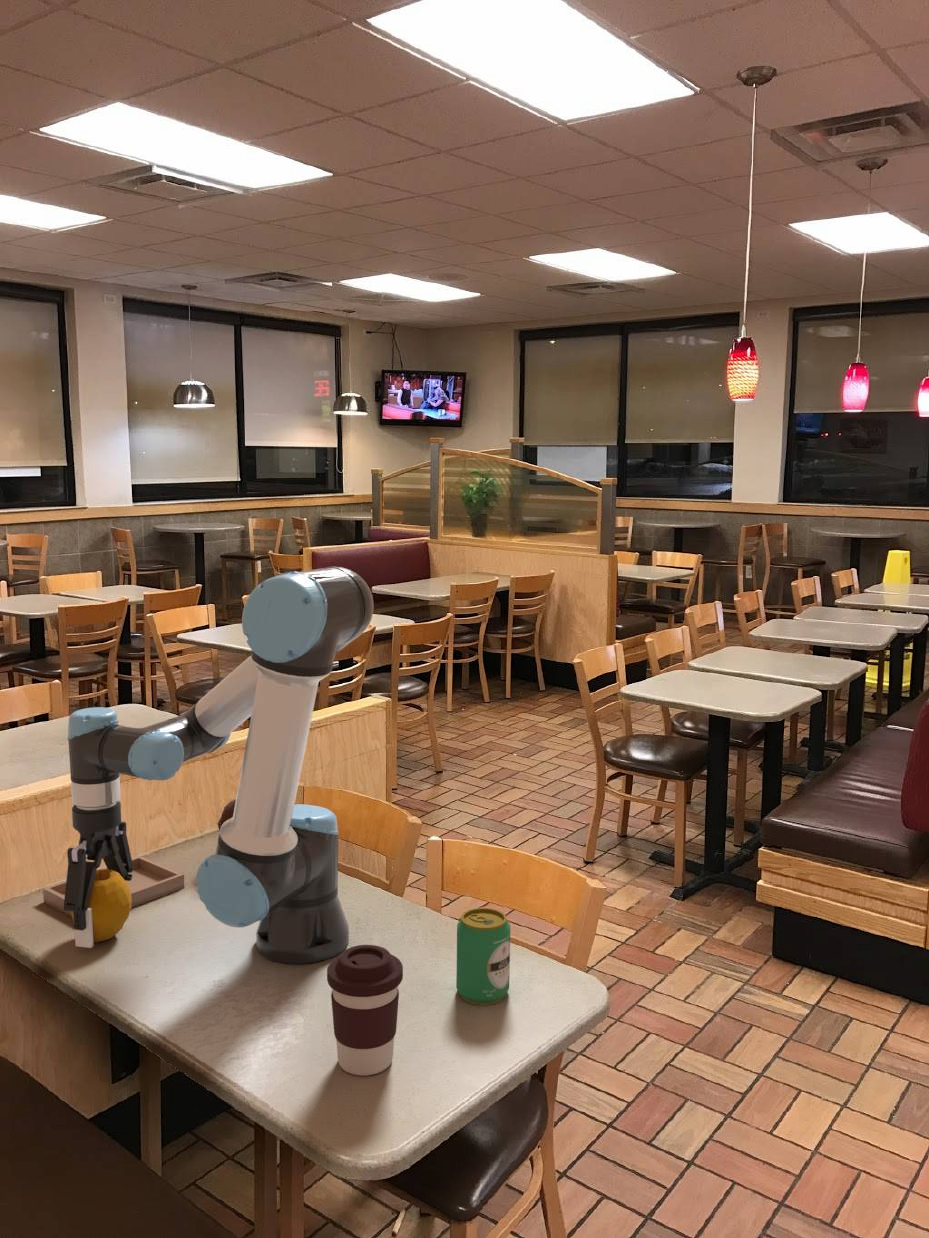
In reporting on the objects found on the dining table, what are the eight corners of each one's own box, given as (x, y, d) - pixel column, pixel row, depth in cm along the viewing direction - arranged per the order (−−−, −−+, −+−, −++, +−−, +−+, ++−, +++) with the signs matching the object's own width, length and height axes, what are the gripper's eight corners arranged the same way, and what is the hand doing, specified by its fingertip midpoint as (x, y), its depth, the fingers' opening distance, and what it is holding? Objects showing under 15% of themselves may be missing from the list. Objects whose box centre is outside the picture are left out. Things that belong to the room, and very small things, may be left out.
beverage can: (486, 1012, 148) (487, 934, 146) (445, 993, 153) (446, 918, 151) (519, 991, 154) (521, 916, 152) (479, 973, 159) (480, 901, 157)
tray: (140, 868, 198) (140, 855, 198) (184, 887, 189) (184, 874, 189) (43, 901, 182) (43, 888, 182) (86, 924, 174) (86, 910, 173)
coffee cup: (403, 1040, 140) (403, 938, 138) (401, 1083, 131) (401, 974, 128) (331, 1040, 140) (330, 938, 138) (324, 1084, 130) (323, 974, 128)
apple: (117, 954, 164) (114, 885, 162) (60, 950, 165) (56, 881, 163) (142, 926, 173) (140, 861, 172) (88, 923, 174) (85, 858, 173)
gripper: (112, 780, 177) (117, 901, 180) (33, 824, 155) (41, 961, 159) (151, 783, 176) (156, 905, 179) (78, 828, 154) (84, 966, 157)
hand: (102, 931), depth 169 cm, fingers closed on apple, 10 cm apart
